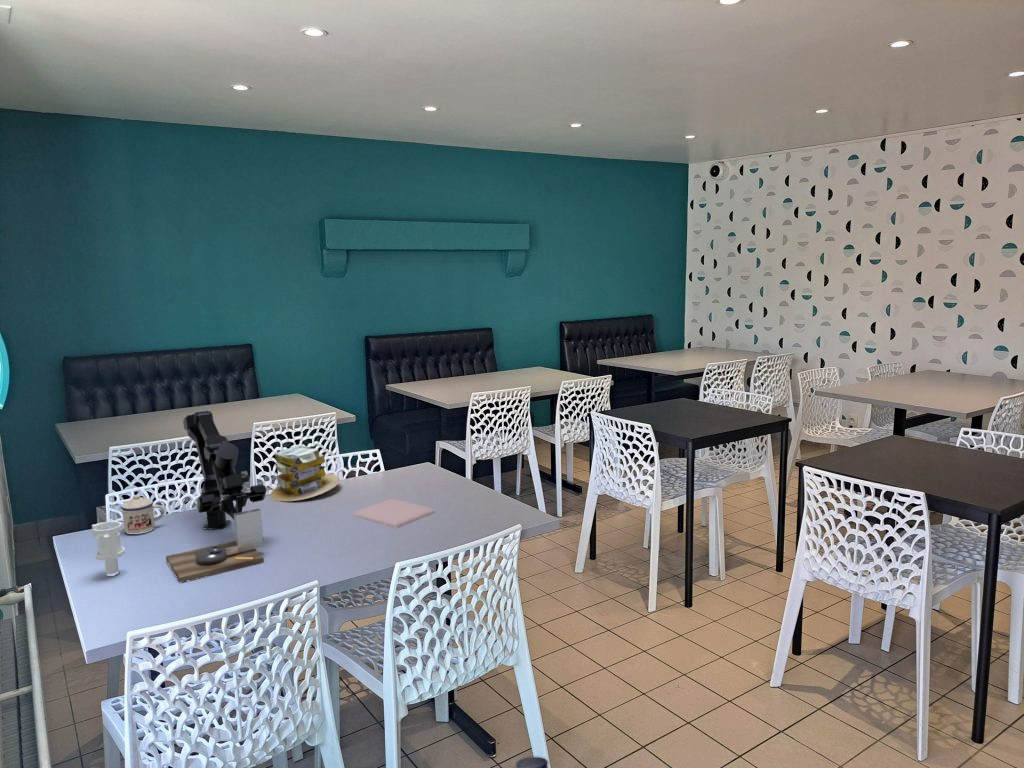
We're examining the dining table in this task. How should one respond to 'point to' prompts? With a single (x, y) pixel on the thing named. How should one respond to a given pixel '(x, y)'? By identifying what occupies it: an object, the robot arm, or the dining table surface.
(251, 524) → the lever
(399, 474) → the dining table surface
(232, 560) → the walnut stand plate
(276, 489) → the stacked boxes on plate
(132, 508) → the teacup with lid
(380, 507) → the panel
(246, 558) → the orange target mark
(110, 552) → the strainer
